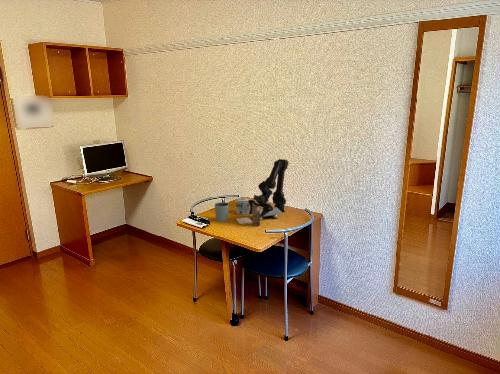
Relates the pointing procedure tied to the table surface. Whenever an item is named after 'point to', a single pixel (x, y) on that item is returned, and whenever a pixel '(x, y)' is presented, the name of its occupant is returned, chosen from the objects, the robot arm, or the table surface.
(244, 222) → the pad
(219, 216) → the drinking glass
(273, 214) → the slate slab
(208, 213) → the table surface
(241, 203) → the light bulb box
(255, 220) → the walnut roller
